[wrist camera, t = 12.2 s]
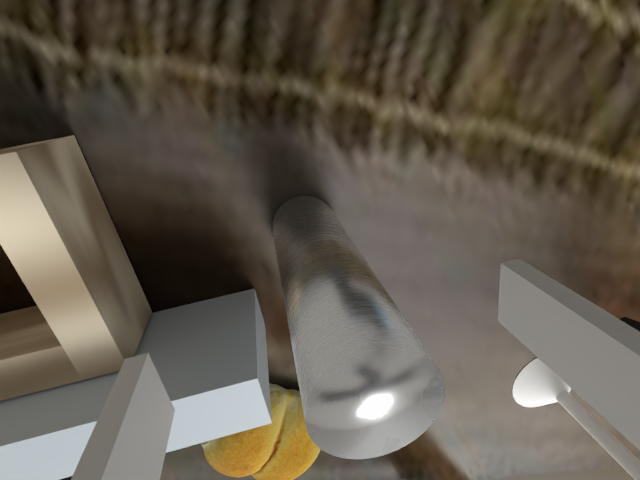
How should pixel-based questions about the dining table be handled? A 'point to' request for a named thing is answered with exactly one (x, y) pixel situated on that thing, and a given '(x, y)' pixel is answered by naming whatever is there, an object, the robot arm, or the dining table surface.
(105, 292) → the square wooden frame
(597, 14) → the dining table surface
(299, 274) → the metal peg
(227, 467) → the bread roll
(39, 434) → the wall
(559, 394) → the champagne flute
